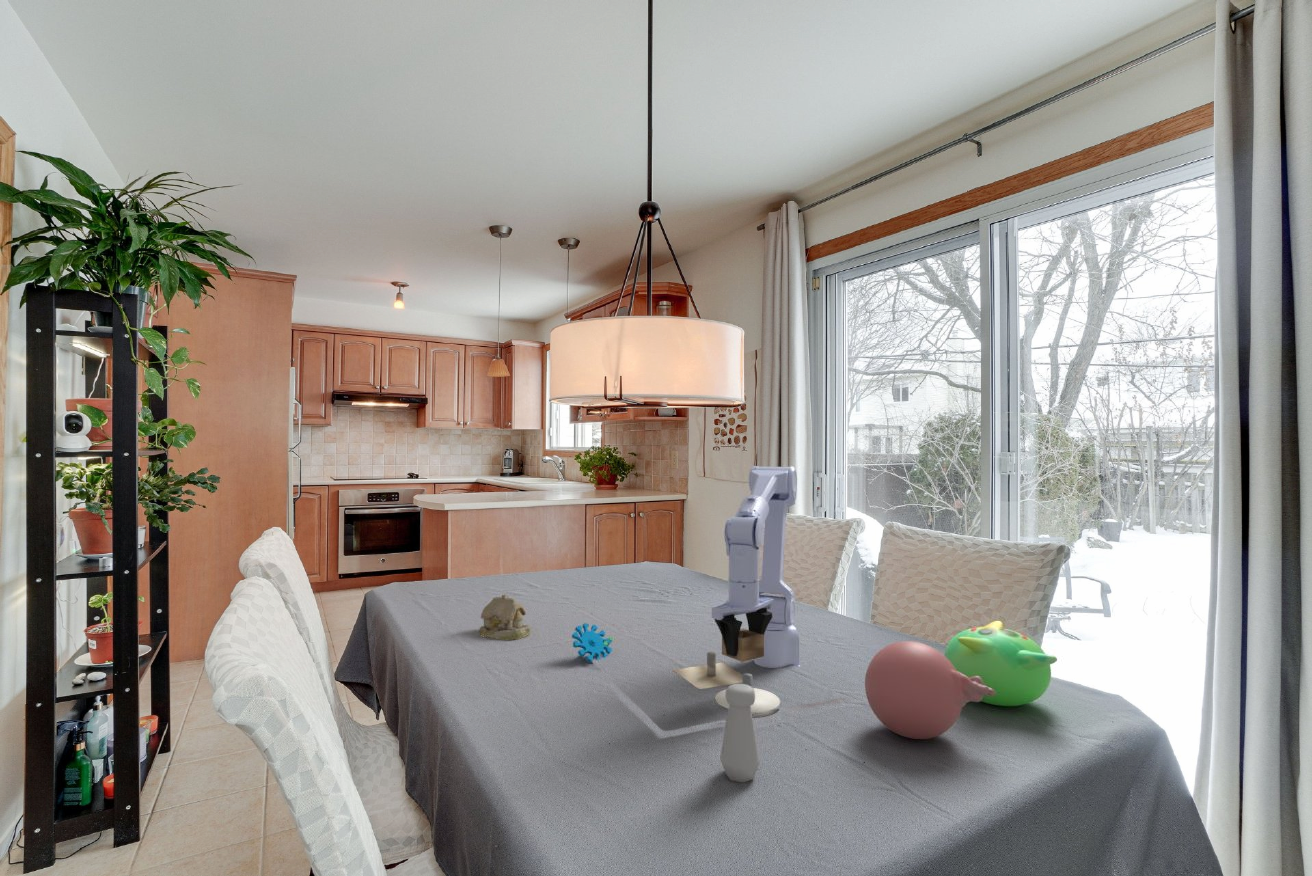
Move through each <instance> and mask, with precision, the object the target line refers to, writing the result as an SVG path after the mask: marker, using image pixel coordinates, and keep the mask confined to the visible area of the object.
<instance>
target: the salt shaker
mask: <svg viewBox="0 0 1312 876" xmlns="http://www.w3.org/2000/svg"><path fill="white" fill-rule="evenodd" d="M753 688H754V687H753V686H752V687H751V686H749V685H746V684H743V683H736V684H730V685H729V686H728V687H727V688H726V689H725V690H726V701H727V703H729V709H728V710H727V711H728V712H727V716H726V722H725V726H724V727H725V728H724V734H723V739H722V743H721V745H722V746H721V748H720V749H721V750H720V755H719V758H720V762H721V765H722V769H723V770H724V773H725V775H726V776H727V777H728V779H731V781H732V782H739V783H746V782H749V781H753V780H754V779H755V776H756V773H757V771H758V768H759V766H760V764H761V756H760V751H759V746H758V740H757V735H756V729H755V725H754V718H752V714H753V713H751V705H753V704H754V701H755V691H754V689H753Z"/></svg>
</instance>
